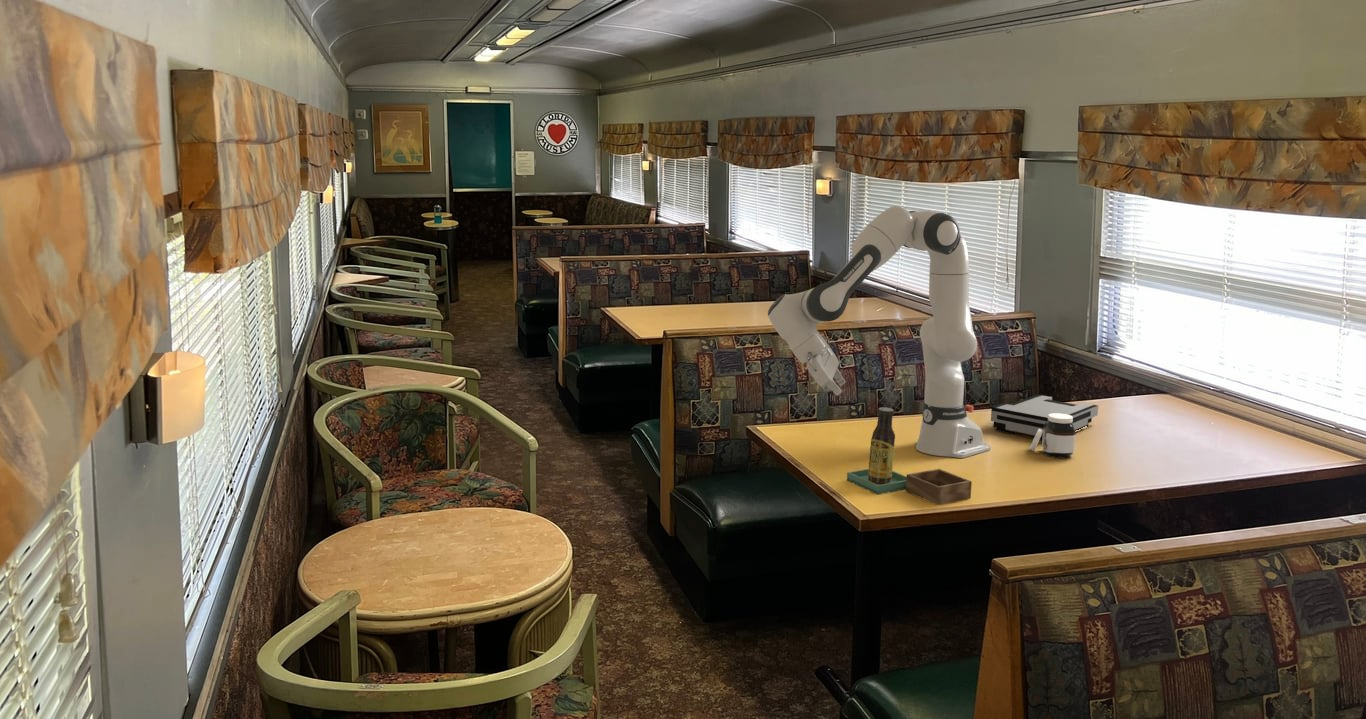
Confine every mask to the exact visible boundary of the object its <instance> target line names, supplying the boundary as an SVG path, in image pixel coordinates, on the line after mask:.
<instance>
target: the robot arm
mask: <svg viewBox="0 0 1366 719" xmlns="http://www.w3.org/2000/svg"><path fill="white" fill-rule="evenodd" d="M902 247H905V248H907V249H913V250H917V251H921V252H922V251H923V252H926V251H927V253H928V256H929V259H930V260H929V270H928V271H929V274H928V275H929V276H928V277H929V281H928V284H929V285H928V300H929V303H930V306H931V311H932V316H933V317H930V318H928V319H926V320H925V321H924V322H923V324H921V326H920V330H919V338H920V340H921V346H922V355H923V362H924V370H925V371H924V372H925V381H924V382H925V383H924V385H925V386H924V401H923V402H922V408H921V409H922V410H921V414H922V420H921V424H920V431H919V435H918V439H917V443H916V446H915V448H916V450H917V451H919V452H920V453H924V454H927V455H930V456H931V455H932V456H938V457H950V458H952V457H953V458H959V459H964V458H968V457H970V456H974V455H978V454H981V453H985V452H988V451H991V446H990V444H988V443H986V442H985V441H984V435H983V430H982V428H981V427H980V426H979V425H977V424H976V422H975V421H973V420H971V418H969V417H968V415H967V412H969V413H973V412H974V409H975V407H974V406H973V405H970V404H966V405H965V404H964V392H965V390H964V389H965V376H964V373H963V368H962V364H961V363H962V362H966V361H968V360H970V359H971V358H973V356H974V355H975V354H976V351H977V349H978V340H977V337H976V335H975V333H974V332H975V331H974V327H973V321H972V320H973V319H972V314H971V307H970V299H969V293H970V292H969V290H970V289H969V288H970V286H969V285H970V284H969V283H970V260H969V259H970V258H969V250H968V245H967V242H966V239H965V238H964V237H963V236H961V229H960V226H959V223H958V222H957V220H956V218H954V217H953V216H952V215H950V214H947V213H944V212H937V211H931V210H924V211H923V210H921V211H917V210H910V211H909V210H907V209H906V208H904V207H903V206H899V205H892V206H889V207H888V208H887V209H885V210H884V211H882V212H881V213H879V214H878V215H877V216H876V217H874V219H872V220H871V221H870V222H869V223H868V224H867V225H866V226H865V227H864V228H863V229H862V230H861V231H860V232H859V234H858V235H857V236H856V238H855V239H854V241H853V242H852V244H851V254H852V256H851V258H850V260H849V261H848V262H847V263H846V264H845V265H844V266H843V268H841V270H839V272H838V273H836V275H835V276H834V277H833V278H832V279H831V280H829V281H826V282H823V283H821V284H818V285H817V286H816V287H813V288H810V289H808V290H805V291H801V292H798V293H797V292H796V293H792V294H786V293H785V294H782V295H781V296H779V297H778V298H777V299H776V300H775V301H774V302H773V303H772V304H771V306H770V307H769V309H768V310H767V318H768V319H769V322H770V323H771V325H772V326H773V328H774V329H775V331H776V332H777V333H778V335H779V337H780V338H781V339H783V340H784V341H785V342H786V343H787V345H788V346H789V349H790V351H791V352H792V353H793V355H794V356H795V357H796V358H797V360H798V361H799V362H800V363H801V364H804V363H806V368H807V370H808V372H809V374H810V375H811V376H812V378H813V379H814V380H815V382H816V384H817V385H818V386H820V387H821V388H824V387H827V388H828V389H829V390H831V392H833V393H834V395H835V396H840V395H841V394H842V392H843V390H842V389H841V387H842V386H843V385H845V383H846V380H845V379H844V377H843V376H842V373H841V371H840V369H839V368H838V367H839V365H840V360H838V357H837V356H836V354H835V353H834V351H833V350H832V348H831V347H830V345H829V344H828V342H827V341H828V339H827V338H826V336H825V335H824V334H821V333H820V332H819V330H817V325H820V324H821V323H825V322H827V323H828V322H833V321H835V320H837V319H839V318H840V317H841V316H842V315H843V314H844V312H845V310H846V308H847V305H848V303H849V300H850V298H851V296H852V294H853V293H854V292H855V290H857V288H858V287H859V286H860V285H861V284H862V283H863V282H864V281H865V279H866V278H867V277H869V276H870V274H871V273H873V272H874V271H876V270H877V269H879V268H880V267H882V266H883V265H884V264H886V263H887V262H888V261H890V259H892V257H893V256H894V255H896V253H897V252H898V251H900V249H902ZM834 379H835V380H834ZM835 381H836V382H835Z"/></svg>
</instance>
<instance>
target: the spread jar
mask: <svg viewBox="0 0 1366 719" xmlns="http://www.w3.org/2000/svg"><path fill="white" fill-rule="evenodd" d="M1072 422H1073V417H1072V416H1071V415H1067V414H1061V413H1052V414H1049V415H1048V421H1047V422H1046V423H1045V425H1044V427H1043V430H1041V429H1038V431H1037V433H1036V435H1034V438H1033V439H1032V441H1031V443H1030V446H1029V451H1032V452H1034V451H1035V450H1036V448H1037V447H1038V444H1039V442H1040V441H1041V447H1042V451H1043V453H1044V455H1046V456H1048V455H1049V457H1051V456H1054V457H1053V458H1057V457H1065V458H1069V457H1070V456H1073V454H1074V453H1075V452H1074V451H1075V447H1076V446H1075V445H1076V433H1075V429H1074V426H1073V424H1072ZM1042 433H1043V437H1042V440H1040V438H1041V435H1042ZM1068 456H1069V457H1068Z"/></svg>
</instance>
